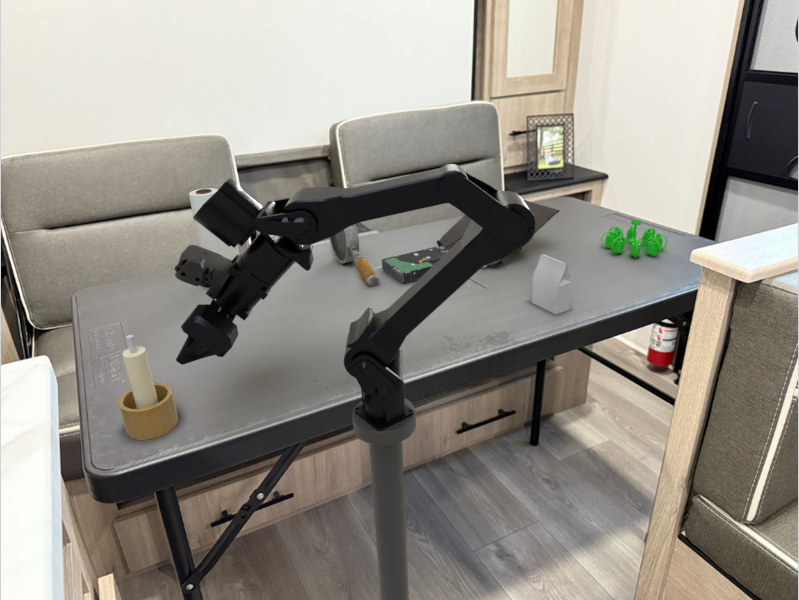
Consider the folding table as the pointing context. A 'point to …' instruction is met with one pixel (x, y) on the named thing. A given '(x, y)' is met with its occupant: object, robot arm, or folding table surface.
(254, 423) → the folding table surface
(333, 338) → the folding table surface
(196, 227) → the paper towel roll
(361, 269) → the magnifying glass
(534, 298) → the white gabled box
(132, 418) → the holder
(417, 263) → the disk drive
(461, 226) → the laptop tray
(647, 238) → the chandelier
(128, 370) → the kitchen roll stand
